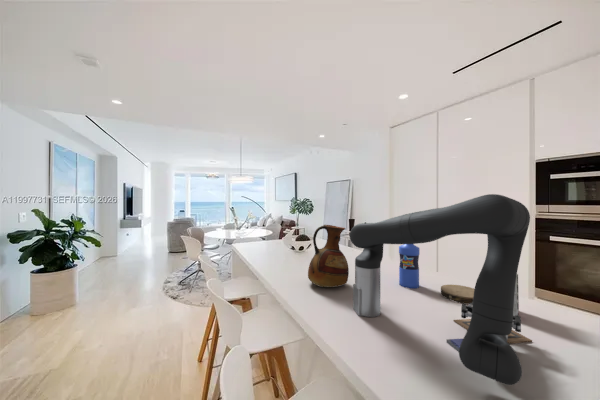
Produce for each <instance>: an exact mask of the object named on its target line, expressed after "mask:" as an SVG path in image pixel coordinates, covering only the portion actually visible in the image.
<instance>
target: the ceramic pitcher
mask: <svg viewBox="0 0 600 400" xmlns="http://www.w3.org/2000/svg"><path fill="white" fill-rule="evenodd" d="M320 230H325V231H326V233H327V238H326V242H325V245H324V246H323V247H322V248H318V246H317V239H316V238H317V234H318V233H319V231H320ZM344 230H346V228H345V227H343V226H341V227H340V226H336V225H333V224H332V225H331V224H327V223H326V224H323V225H321V226H319V227H317V228H316V230H315V231H314V234H313V235H312V236H313V237H312V241H313V247H314V255H313V257H312V258H311V260H310V262H309V265H308V268H307V269H308V270H307V278H308V279H309V281H310V282H311V283H312V284H314V285H315V286H318V287H321V288H335V287H340V286H344V285H346V284H347V282H348V280H349V273H350V271H349V270H350V269H349V264H348V260H347V258H346V256H345V255H344V253H343V252H342V251H341V249H340V245H339V244H340V242H341V234H342V233H343V232H344Z"/></svg>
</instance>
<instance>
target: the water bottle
mask: <svg viewBox="0 0 600 400" xmlns="http://www.w3.org/2000/svg"><path fill="white" fill-rule="evenodd" d="M398 255H399V267H398V269H399V271H398V272H399V273H398V276H399V279H398V282H399V283H398V284H399V286H400V287H402V288H405V289H410V290H412V289H413V290H414V289H419V288H420V266H419V260H420V247H419V246H417V245H415V244H400V246H398Z"/></svg>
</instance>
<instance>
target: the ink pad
mask: <svg viewBox="0 0 600 400" xmlns="http://www.w3.org/2000/svg"><path fill="white" fill-rule="evenodd" d="M463 339H464V337H463V338H449V339H446V343H447V344H448V345H449V346H450V347H452V348H453V349H454V350H455V351H456V352H458V353H459V348H460V345H461V343H462V341H463Z"/></svg>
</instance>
